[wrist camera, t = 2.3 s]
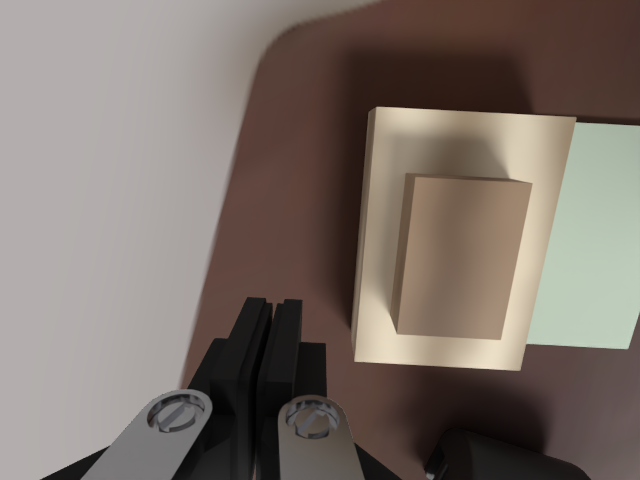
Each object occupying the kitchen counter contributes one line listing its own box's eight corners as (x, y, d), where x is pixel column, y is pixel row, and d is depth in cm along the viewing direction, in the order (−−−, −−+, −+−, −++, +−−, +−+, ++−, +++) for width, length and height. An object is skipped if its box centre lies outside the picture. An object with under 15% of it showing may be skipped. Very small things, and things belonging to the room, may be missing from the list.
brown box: (510, 178, 21) (532, 183, 19) (483, 320, 23) (500, 340, 21) (405, 172, 21) (415, 176, 19) (389, 315, 23) (396, 334, 21)
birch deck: (536, 120, 24) (576, 117, 20) (493, 339, 28) (520, 370, 24) (368, 112, 24) (376, 106, 20) (350, 331, 28) (354, 361, 24)
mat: (689, 129, 24) (695, 128, 24) (623, 346, 28) (627, 349, 28) (528, 120, 24) (532, 120, 24) (487, 338, 28) (489, 341, 28)
